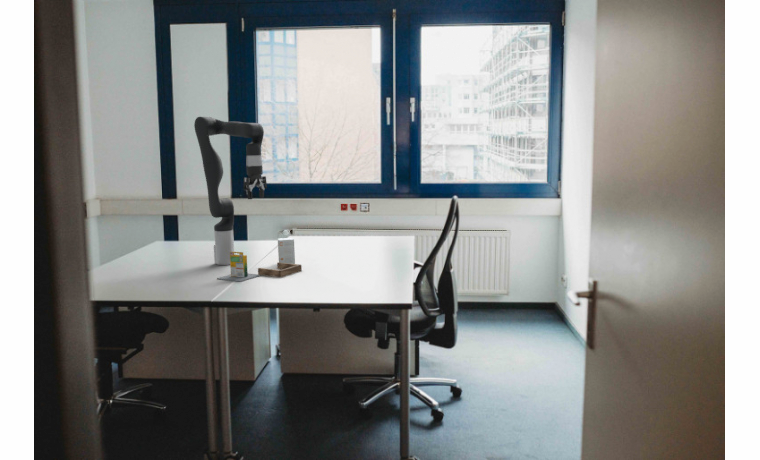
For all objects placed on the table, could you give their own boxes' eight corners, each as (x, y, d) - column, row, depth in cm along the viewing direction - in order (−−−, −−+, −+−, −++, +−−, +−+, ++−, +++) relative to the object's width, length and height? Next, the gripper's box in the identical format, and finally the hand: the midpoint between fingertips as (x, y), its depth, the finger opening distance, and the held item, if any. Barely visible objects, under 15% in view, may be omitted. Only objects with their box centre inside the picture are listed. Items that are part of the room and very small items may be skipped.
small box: (294, 262, 303) (293, 237, 301) (295, 265, 297) (294, 239, 295) (278, 263, 302) (277, 238, 300) (278, 265, 296) (277, 240, 294)
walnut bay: (258, 274, 276) (257, 268, 275) (278, 268, 289) (278, 262, 289) (281, 277, 269) (281, 270, 269) (301, 270, 283) (301, 264, 282)
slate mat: (216, 278, 268) (216, 278, 268) (238, 273, 280) (238, 272, 280) (240, 281, 261) (240, 281, 261) (261, 275, 273) (261, 274, 273)
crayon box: (248, 276, 271) (246, 251, 269) (244, 277, 268) (243, 252, 266) (234, 275, 273) (233, 250, 272) (230, 276, 270) (229, 251, 269)
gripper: (258, 164, 294) (259, 197, 296) (238, 165, 281) (239, 199, 284) (269, 164, 290) (271, 197, 293) (250, 165, 278) (252, 199, 280)
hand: (255, 198), depth 288 cm, fingers open, 8 cm apart
